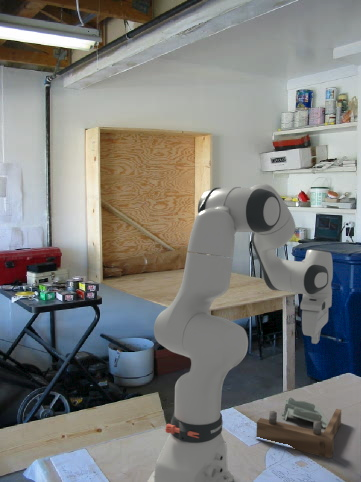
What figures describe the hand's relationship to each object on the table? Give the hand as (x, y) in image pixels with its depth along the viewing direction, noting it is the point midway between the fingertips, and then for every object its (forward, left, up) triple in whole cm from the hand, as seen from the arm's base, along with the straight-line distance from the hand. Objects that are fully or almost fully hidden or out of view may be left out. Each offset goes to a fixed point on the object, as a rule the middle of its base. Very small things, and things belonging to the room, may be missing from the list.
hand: (315, 342), depth 160 cm
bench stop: (-21, -2, -20) cm, 29 cm away
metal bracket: (-12, 0, -21) cm, 24 cm away
